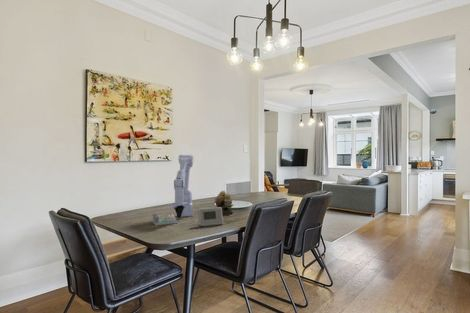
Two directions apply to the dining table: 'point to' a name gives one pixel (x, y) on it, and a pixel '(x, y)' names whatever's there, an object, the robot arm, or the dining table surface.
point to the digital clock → (210, 216)
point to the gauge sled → (170, 216)
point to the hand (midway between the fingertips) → (179, 217)
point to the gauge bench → (163, 220)
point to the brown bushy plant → (224, 202)
